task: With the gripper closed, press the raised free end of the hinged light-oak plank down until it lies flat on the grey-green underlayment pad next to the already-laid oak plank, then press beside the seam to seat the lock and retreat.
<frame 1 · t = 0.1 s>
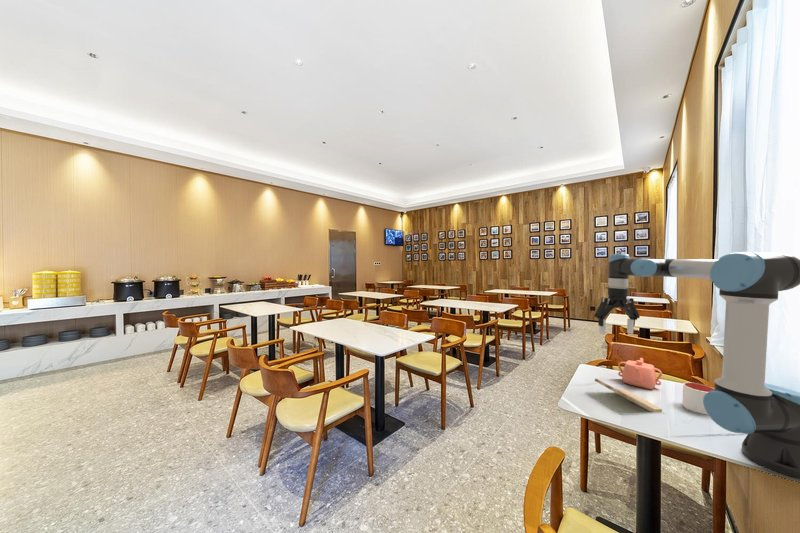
hand: (616, 333, 141), 28 cm above the table, fingers open, 13 cm apart
cup: (698, 411, 126), on the table
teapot: (638, 386, 150), on the table
underlayment pad: (622, 404, 130), on the table
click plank: (621, 393, 130), point 5 cm above the table, hinge at 27.0°
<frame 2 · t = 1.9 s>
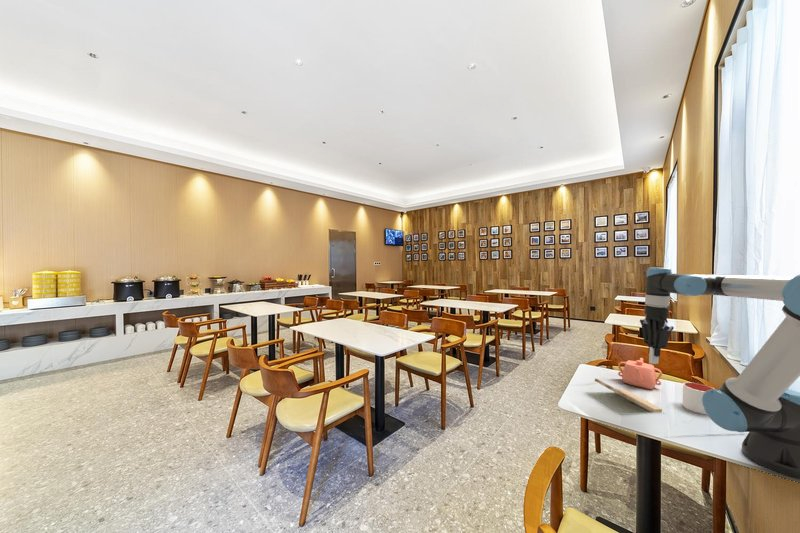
hand: (653, 363, 123), 20 cm above the table, fingers closed
nothing on the table moved.
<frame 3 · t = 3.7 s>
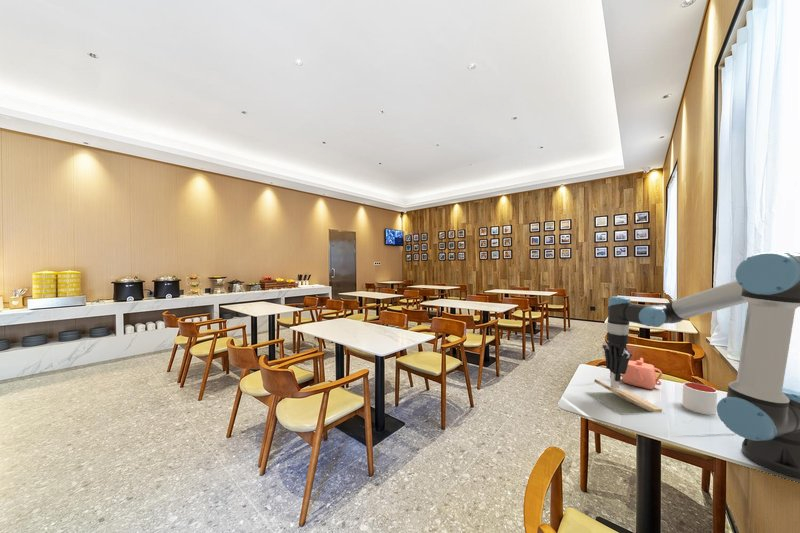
hand: (614, 387, 130), 7 cm above the table, fingers closed
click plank: (621, 394, 130), point 4 cm above the table, hinge at 24.6°, touching gripper
everything else where it was.
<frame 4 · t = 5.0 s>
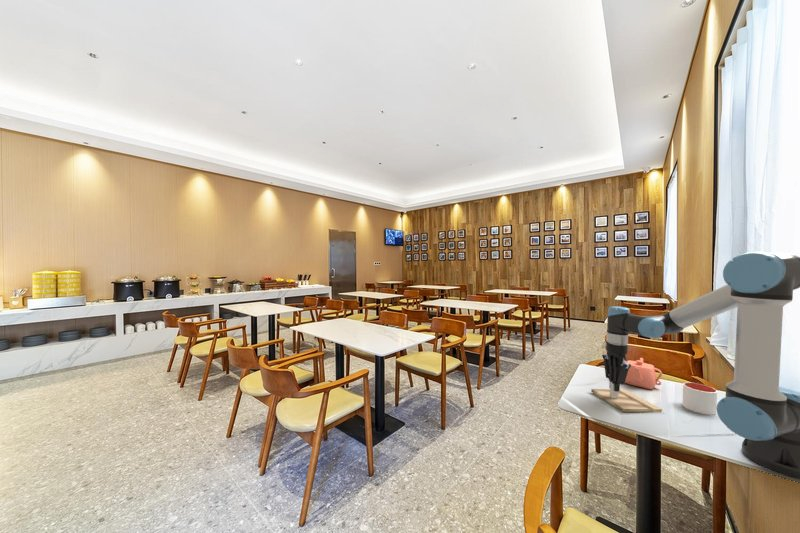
hand: (613, 397, 130), 3 cm above the table, fingers closed
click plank: (619, 399, 130), point 2 cm above the table, hinge at 2.4°, touching gripper
everything else where it was.
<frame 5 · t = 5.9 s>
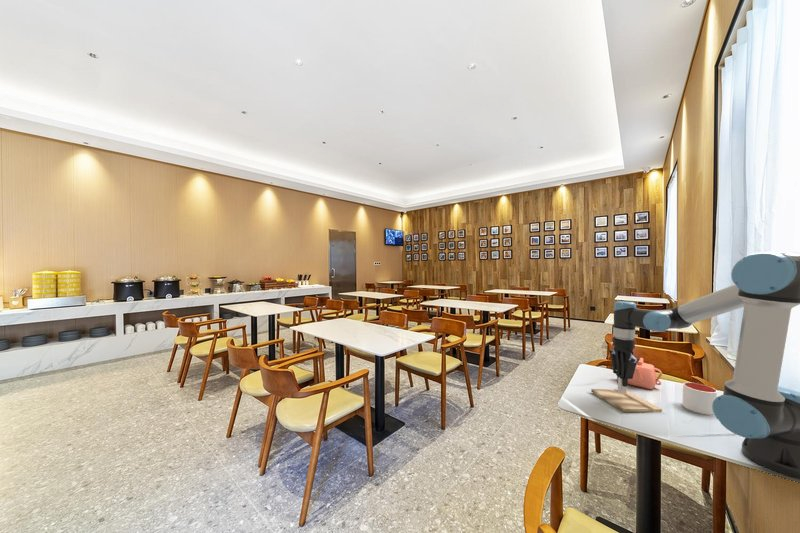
hand: (621, 392, 130), 5 cm above the table, fingers closed
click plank: (619, 399, 130), point 2 cm above the table, hinge at 2.4°
everything else where it was.
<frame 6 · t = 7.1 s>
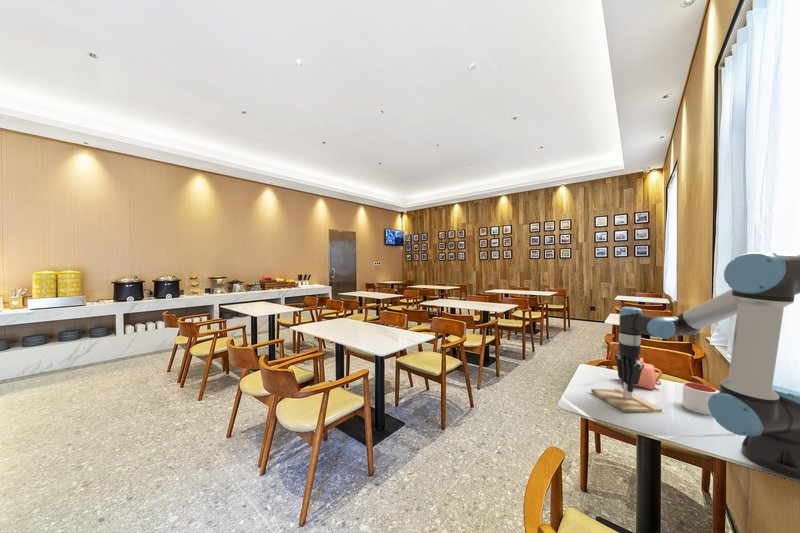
hand: (627, 397, 130), 3 cm above the table, fingers closed
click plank: (619, 399, 130), point 2 cm above the table, hinge at 2.4°, touching gripper
everything else where it was.
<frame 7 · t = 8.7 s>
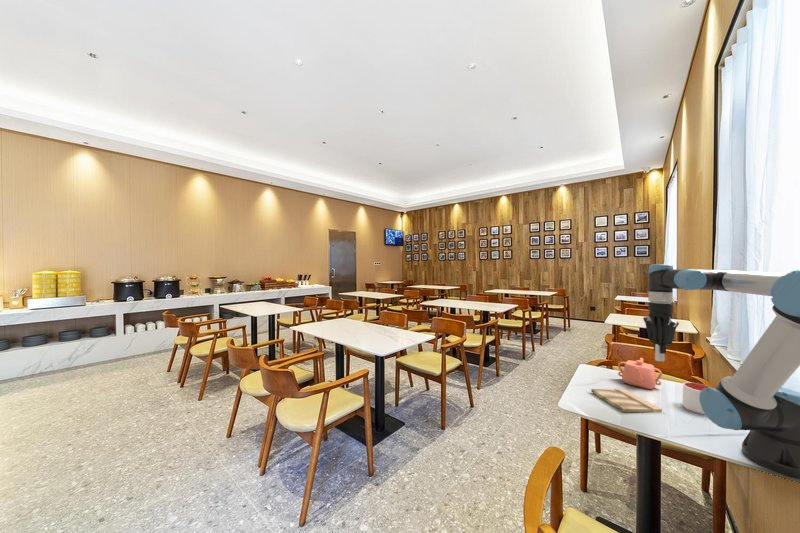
hand: (659, 360, 123), 21 cm above the table, fingers closed
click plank: (619, 399, 130), point 2 cm above the table, hinge at 2.4°
everything else where it was.
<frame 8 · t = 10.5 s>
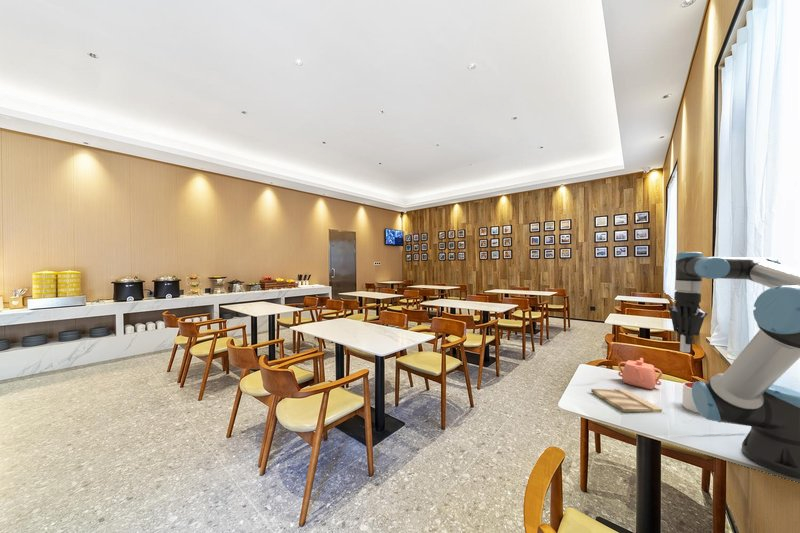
hand: (684, 351, 119), 26 cm above the table, fingers closed
nothing on the table moved.
at the end: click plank at +2° (first picture: +27°); the gripper is holding nothing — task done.
